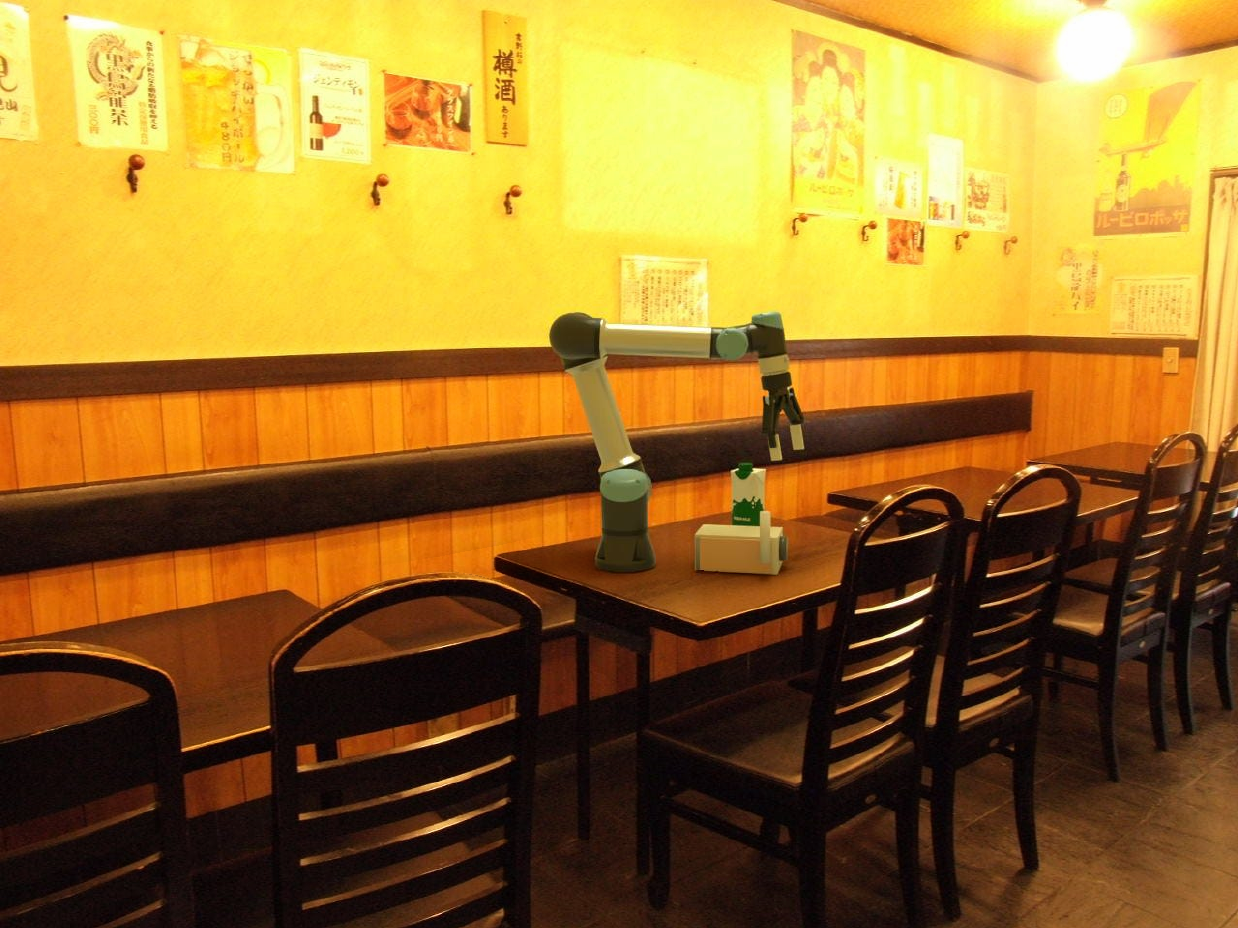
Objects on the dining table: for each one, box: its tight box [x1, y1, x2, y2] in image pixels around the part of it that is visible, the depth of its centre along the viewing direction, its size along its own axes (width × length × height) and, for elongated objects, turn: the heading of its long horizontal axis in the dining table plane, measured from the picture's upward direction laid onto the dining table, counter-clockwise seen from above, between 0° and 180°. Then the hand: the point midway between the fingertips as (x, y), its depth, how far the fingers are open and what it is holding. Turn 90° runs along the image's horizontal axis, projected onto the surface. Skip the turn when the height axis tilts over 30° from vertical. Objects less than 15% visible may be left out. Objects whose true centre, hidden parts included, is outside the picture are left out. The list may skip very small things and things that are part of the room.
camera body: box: [694, 523, 789, 576], centre depth 242 cm, size 22×12×9 cm, turn 75°
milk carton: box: [730, 462, 767, 526], centre depth 280 cm, size 9×9×20 cm
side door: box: [695, 510, 772, 575], centre depth 233 cm, size 18×5×16 cm, turn 75°
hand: (788, 454), depth 251 cm, fingers open, 13 cm apart
